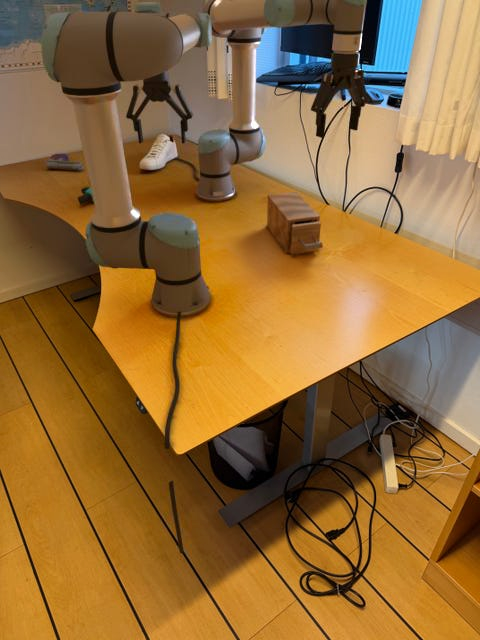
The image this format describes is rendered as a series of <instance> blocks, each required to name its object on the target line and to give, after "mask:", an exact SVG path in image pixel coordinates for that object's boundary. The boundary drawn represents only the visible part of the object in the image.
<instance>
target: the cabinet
mask: <svg viewBox="0 0 480 640" xmlns="http://www.w3.org/2000/svg"><path fill="white" fill-rule="evenodd" d="M266 215H267V216H266V220H267V221H266V227H267V229H268V230H269V231H270V233H271V234H272V235H273V237H274V238H275V239H276V241H277V242H278V244H279V245H280V246H281V248H282V249H283V251H284V252H285V253H286V254H291V253H290V230H291V222H299V221H308V220H315V222H319V221H320V219H321V216H320V215H319V214H318V213H317V212H316V210H314V209H313V208H312V206H311V205H309V203H308V202H306V200H305V199H304V198H303V197H302V196H301V195H300V194H299V193H298V192H297V191H295V192H294V191H293V192H286V193H285V192H284V193H275V194H268V195H267V213H266Z"/></svg>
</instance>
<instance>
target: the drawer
mask: <svg viewBox="0 0 480 640" xmlns="http://www.w3.org/2000/svg"><path fill="white" fill-rule="evenodd" d="M321 226H322V223H321V221H320V220H319V222H315V220H308V221H299V222H291V230H290V253H289V254H290V255H297V254H304V253H312V252H318V251H319V249H323V242H322V241H320V237H321V228H322V227H321Z"/></svg>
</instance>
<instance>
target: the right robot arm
mask: <svg viewBox="0 0 480 640" xmlns="http://www.w3.org/2000/svg"><path fill="white" fill-rule="evenodd" d="M367 3H368V0H207V1H206V2H205V4H204V5H203V7H202V10H201V13H207V14H208V15H209V16H210V19H211V25H212V37H216V38H219V39H221V38H222V39H223V38H225V39H226V43H227V45H229V47H230V48H231V92H232V93H231V94H232V97H231V98H232V99H231V100H232V121H231V122H230V123H229V124H228V130H226V129H220V128H219V129H212V130H211V129H210V130H208V131H205V132H203V133H202V134H201V135H199V137H198V139H197V151H198V166H199V177H198V176H197V173H198V170H197V167H196V166H195V165H194V164H193V163H192V162H190V161H188V160H185V159H183V158H180V157H175V158H174V159H173V160H177V161H180V162H183V163H185V164H188V165H190V166H191V167H193V170H194V174H193V176H194V178H195V179H196V180H197V181H198V182H197V187H196V197H197V199H199V200H201V201H204V202H209V203H220V202H227V201H229V200H232V199H234V198H235V196H236V188H235V185H234V182H233V179H232V176H231V166H235V165H239V164H243V163H249V162H251V163H252V162H253V161H255V160H258V159H260V158H261V157H262V156H263V155H264V153H265V152H266V151H265V150H266V146H267V139H266V136H265V133H264V130H263V129H262V128H261V127H260V123H259V122H258V121H257V49H258V46H259V45H260V44H261V42H262V35H263V34H265V33H266V32H267V29H268V28H278V29H281V28H286V27H287V28H288V27H298V26H310V25H312V26H313V25H333V34H332V35H333V37H332V46H331V47H332V48H331V50H332V51H333V52H332V53H331V55H330V56H331V57H330V59H331V60H330V68H331V74H329V73H323V74H322V75H321V82H320V85H319V87H318V89H317V92H316V94H315V97H314V99H313V102H312V104H311V106H310V111H311V112H313V113H315V115H316V116H315V126H316V129H315V137H318V138H320V139H324V138H325V134H326V133H325V132H326V121H327V113H325V112H326V110H327V109H328V107H329V105H330V104H331V103H332V101H333V99H334V97H335V96H336V95H337V93H339V92H340V91H343V90H347V92H348V94H349V96H350V98H351V100H352V102H353V104H354V105H351V111H350V117H349V118H350V119H349V127H348V128H349V129H350V130H353V131H358V129H359V121H360V117H361V114H362V108H365V106H366V104H367V103H368V101H369V100H368V95H367V89H366V85H365V79H364V78H365V75H364V74H365V70H364V69H361V68H358V67H359V64H360V52H359V51H360V50H361V46H362V37H363V31H364V30H363V29H364V21H365V15H366V8H367Z"/></svg>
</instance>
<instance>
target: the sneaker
mask: <svg viewBox="0 0 480 640" xmlns="http://www.w3.org/2000/svg"><path fill="white" fill-rule="evenodd" d="M178 156H179V155H178V149H177V144H176V140H175V136H174V135H173V134H164V133H161V134H158V135H157V137H156V139H155V140H154V142H153V143H152V146H151V148H150V150H149V151H148V153H147V154H146V155H145V156H144V157H143V158H142V159H141V160H140V162H139V169H141V170H144V171H156V170H160V169H162V168H164V167H165V166H166V164H167V163H168V162H170V161H172V160H175V159H174V158H175V157H176V158H178Z"/></svg>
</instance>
